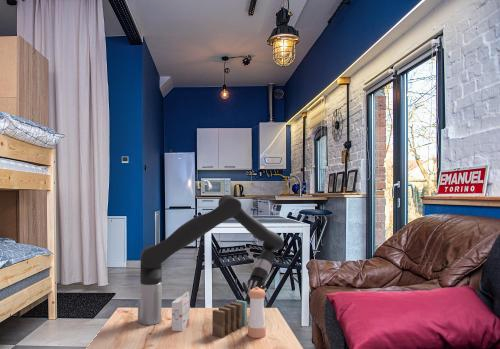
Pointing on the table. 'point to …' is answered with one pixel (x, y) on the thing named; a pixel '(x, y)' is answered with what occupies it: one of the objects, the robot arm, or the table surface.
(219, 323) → the walnut tile
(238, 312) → the walnut tile
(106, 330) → the table surface
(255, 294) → the pepper shaker
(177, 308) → the ink cartridge box
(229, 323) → the walnut tile
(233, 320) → the walnut tile
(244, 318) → the teal tile
